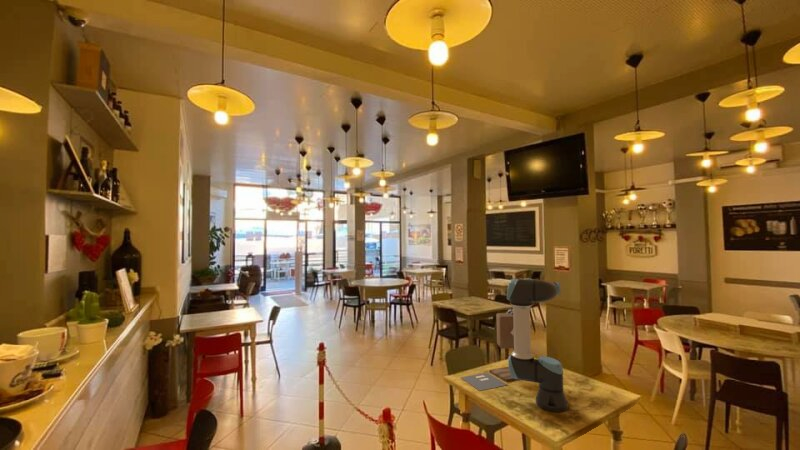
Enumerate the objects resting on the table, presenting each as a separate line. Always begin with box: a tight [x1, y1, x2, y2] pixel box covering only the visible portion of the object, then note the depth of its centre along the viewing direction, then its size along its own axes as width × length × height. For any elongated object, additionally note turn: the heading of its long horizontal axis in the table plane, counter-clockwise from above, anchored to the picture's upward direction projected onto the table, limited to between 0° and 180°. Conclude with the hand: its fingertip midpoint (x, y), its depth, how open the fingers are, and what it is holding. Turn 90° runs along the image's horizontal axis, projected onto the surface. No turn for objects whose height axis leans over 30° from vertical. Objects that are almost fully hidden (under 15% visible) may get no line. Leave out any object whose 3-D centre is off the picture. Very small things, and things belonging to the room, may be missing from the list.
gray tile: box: [460, 372, 508, 392], centre depth 205 cm, size 20×20×1 cm
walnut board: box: [489, 366, 519, 383], centre depth 214 cm, size 16×16×2 cm
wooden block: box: [495, 312, 514, 349], centre depth 215 cm, size 10×10×20 cm
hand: (504, 331), depth 214 cm, fingers closed on wooden block, 12 cm apart
